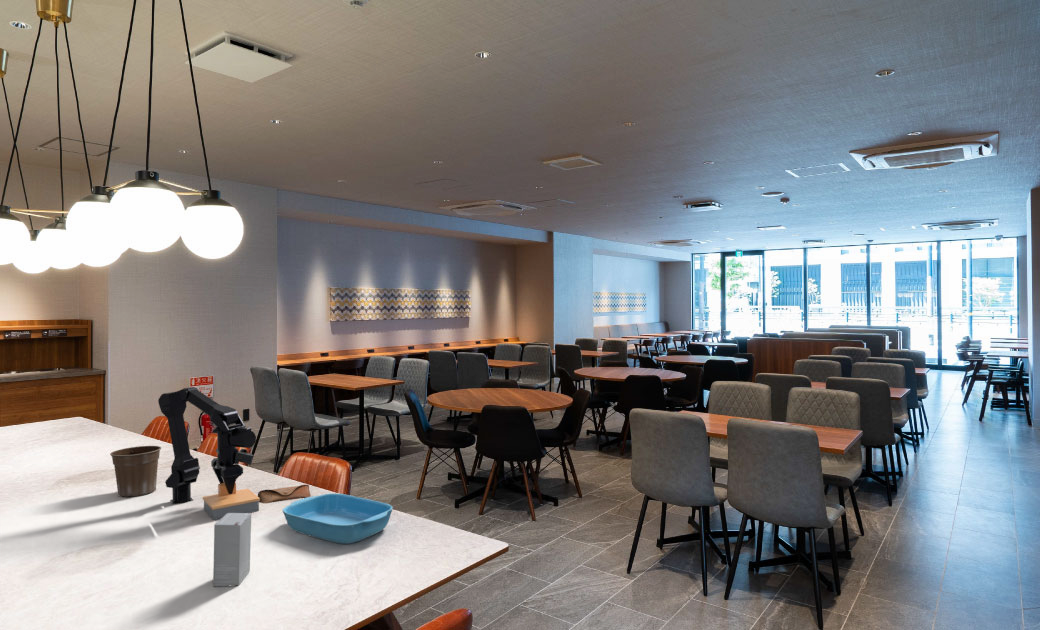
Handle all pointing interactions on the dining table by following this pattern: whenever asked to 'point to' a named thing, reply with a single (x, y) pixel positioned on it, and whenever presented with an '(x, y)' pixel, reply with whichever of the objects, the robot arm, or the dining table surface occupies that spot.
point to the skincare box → (232, 549)
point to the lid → (229, 497)
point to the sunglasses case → (284, 494)
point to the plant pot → (136, 470)
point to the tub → (231, 509)
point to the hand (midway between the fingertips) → (227, 490)
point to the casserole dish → (337, 517)
